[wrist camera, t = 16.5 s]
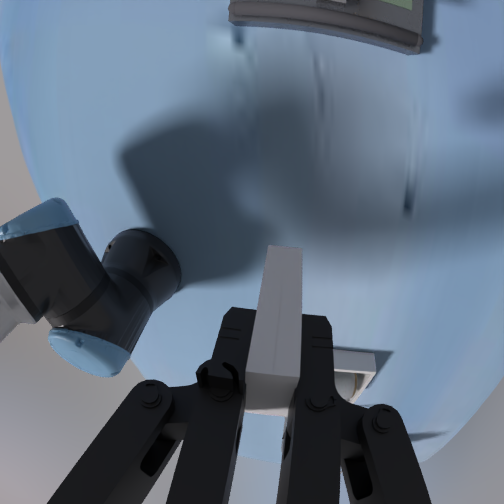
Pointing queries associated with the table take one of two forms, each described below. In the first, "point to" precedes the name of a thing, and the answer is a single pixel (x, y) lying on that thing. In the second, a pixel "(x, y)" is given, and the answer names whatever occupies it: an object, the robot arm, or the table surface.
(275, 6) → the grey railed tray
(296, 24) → the breaker panel
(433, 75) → the table surface
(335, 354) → the mug tray
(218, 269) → the table surface
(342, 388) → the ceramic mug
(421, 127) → the table surface
